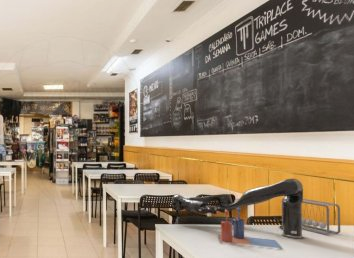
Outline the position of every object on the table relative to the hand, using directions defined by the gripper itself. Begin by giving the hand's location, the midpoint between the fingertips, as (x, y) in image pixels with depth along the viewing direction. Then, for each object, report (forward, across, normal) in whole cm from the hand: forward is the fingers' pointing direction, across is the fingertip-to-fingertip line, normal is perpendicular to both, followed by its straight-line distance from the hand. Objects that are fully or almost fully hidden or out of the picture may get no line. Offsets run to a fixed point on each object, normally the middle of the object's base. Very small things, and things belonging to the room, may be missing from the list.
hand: (220, 211), depth 199 cm
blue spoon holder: (+11, 0, -12) cm, 17 cm away
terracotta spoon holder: (+12, +12, -12) cm, 21 cm away
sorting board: (+17, +1, -13) cm, 22 cm away
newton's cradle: (+17, -63, -13) cm, 66 cm away
